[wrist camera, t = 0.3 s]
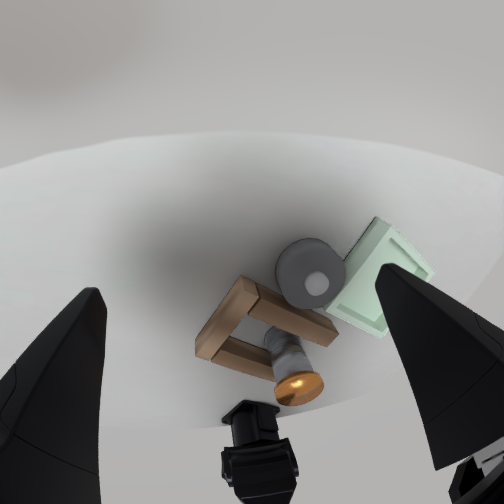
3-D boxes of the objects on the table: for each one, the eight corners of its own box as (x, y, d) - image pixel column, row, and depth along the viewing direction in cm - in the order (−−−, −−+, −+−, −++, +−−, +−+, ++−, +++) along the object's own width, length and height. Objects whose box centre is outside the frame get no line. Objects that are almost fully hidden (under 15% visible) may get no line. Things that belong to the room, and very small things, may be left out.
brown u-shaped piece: (282, 370, 31) (287, 385, 28) (195, 339, 27) (195, 355, 24) (330, 319, 28) (339, 334, 26) (240, 275, 24) (244, 289, 22)
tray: (371, 325, 30) (381, 339, 28) (315, 296, 27) (325, 311, 24) (422, 261, 27) (435, 271, 25) (376, 216, 24) (391, 225, 22)
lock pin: (284, 355, 30) (302, 408, 23) (253, 344, 28) (266, 401, 21) (308, 329, 28) (333, 382, 21) (277, 315, 27) (298, 372, 20)
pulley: (309, 303, 27) (320, 322, 24) (262, 279, 25) (269, 298, 22) (346, 257, 25) (362, 272, 22) (301, 226, 23) (314, 240, 20)
